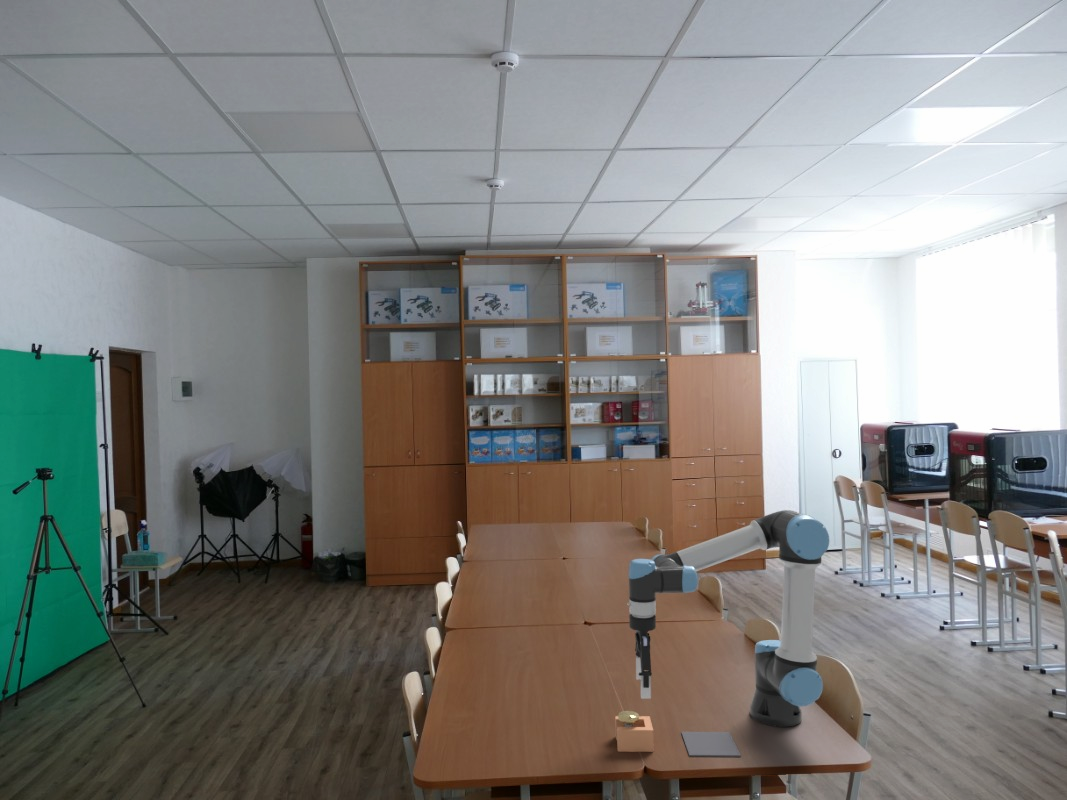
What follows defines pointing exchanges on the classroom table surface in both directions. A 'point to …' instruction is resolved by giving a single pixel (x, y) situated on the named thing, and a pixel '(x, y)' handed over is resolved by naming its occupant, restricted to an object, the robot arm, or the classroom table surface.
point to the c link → (635, 736)
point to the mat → (710, 744)
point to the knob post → (628, 718)
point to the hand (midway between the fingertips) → (643, 688)
